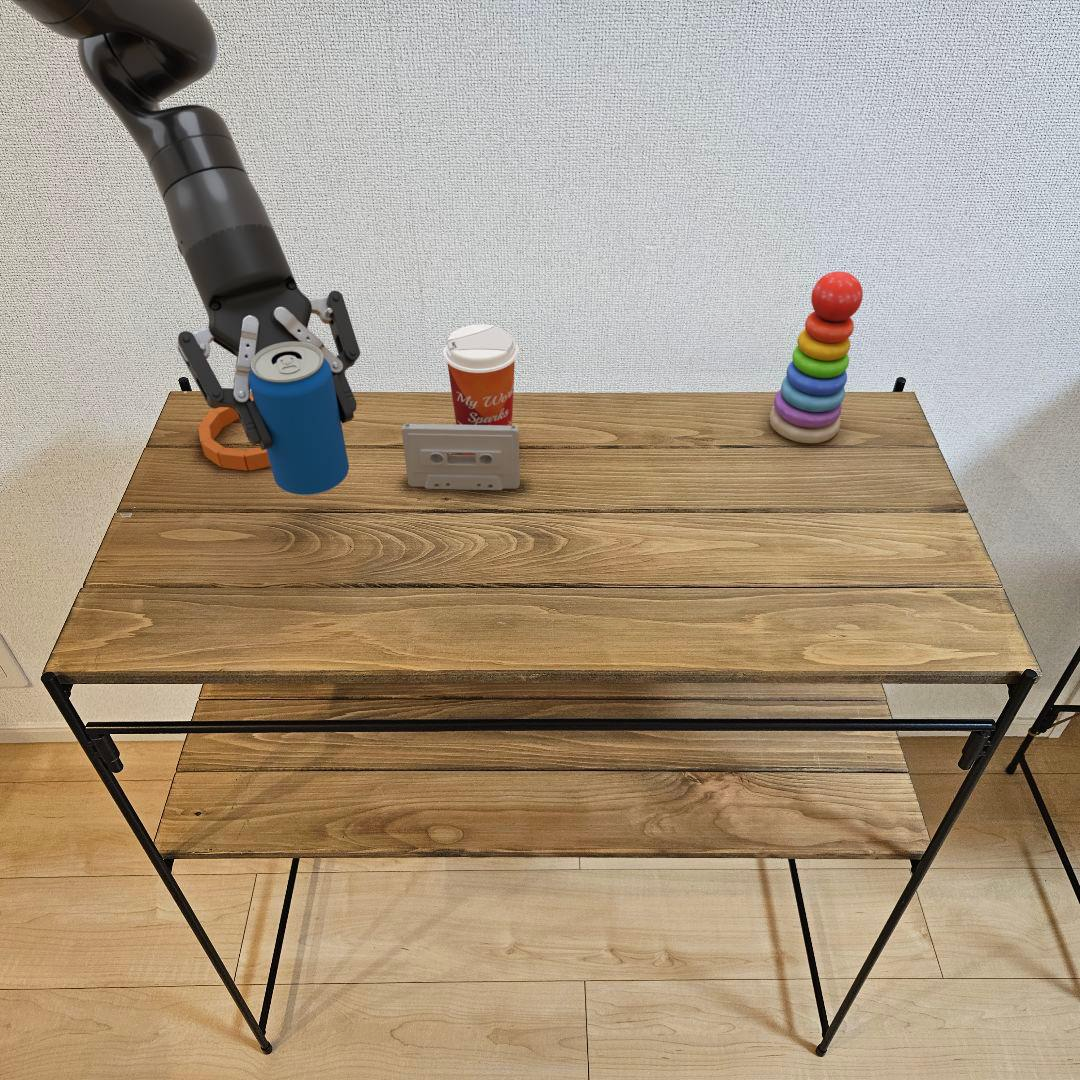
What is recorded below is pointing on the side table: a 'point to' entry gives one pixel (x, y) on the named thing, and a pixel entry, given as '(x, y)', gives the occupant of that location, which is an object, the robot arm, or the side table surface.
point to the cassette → (462, 456)
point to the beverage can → (300, 417)
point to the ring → (228, 456)
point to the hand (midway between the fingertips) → (308, 433)
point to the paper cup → (481, 374)
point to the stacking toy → (819, 364)
